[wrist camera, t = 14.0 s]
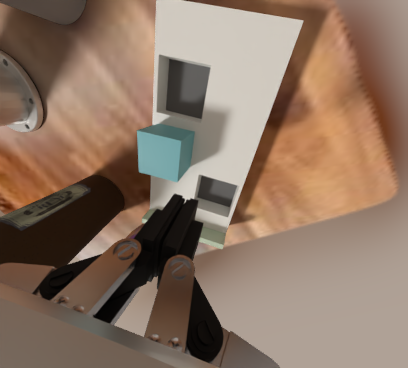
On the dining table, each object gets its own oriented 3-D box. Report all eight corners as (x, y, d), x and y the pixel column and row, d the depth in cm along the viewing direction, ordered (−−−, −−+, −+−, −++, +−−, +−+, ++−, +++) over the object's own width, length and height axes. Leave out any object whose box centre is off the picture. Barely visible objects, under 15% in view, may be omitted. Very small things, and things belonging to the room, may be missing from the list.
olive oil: (134, 215, 36) (-34, 392, 15) (96, 215, 39) (-89, 361, 18) (114, 170, 31) (-172, 331, 10) (73, 173, 35) (-213, 303, 13)
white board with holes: (157, 204, 33) (142, 222, 28) (169, 9, 19) (142, -19, 14) (226, 225, 31) (222, 249, 27) (295, 31, 17) (313, 7, 12)
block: (158, 158, 25) (138, 172, 20) (158, 123, 22) (137, 130, 18) (190, 166, 24) (177, 182, 20) (194, 131, 21) (181, 140, 17)
